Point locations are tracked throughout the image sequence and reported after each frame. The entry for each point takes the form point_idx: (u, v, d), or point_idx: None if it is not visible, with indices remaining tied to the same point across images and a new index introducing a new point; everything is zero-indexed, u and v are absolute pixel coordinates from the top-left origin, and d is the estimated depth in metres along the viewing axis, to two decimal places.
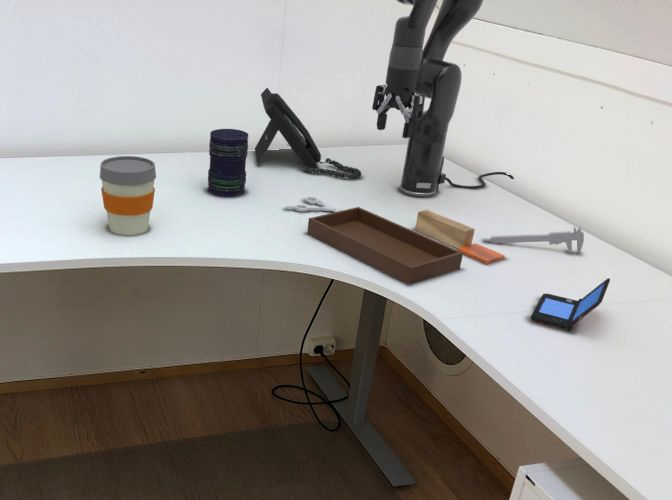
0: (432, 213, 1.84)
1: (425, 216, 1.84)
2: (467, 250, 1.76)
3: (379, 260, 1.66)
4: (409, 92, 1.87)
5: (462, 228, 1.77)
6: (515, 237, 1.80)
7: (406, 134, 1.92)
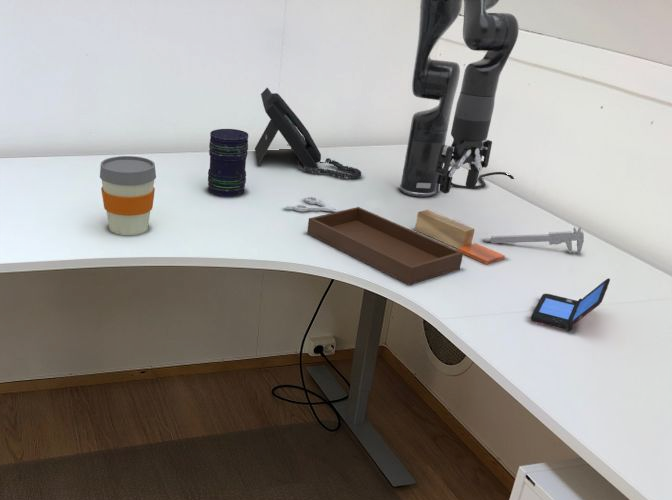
0: (432, 213, 1.84)
1: (425, 216, 1.84)
2: (467, 250, 1.76)
3: (379, 260, 1.66)
4: None
5: (462, 228, 1.77)
6: (515, 237, 1.80)
7: None
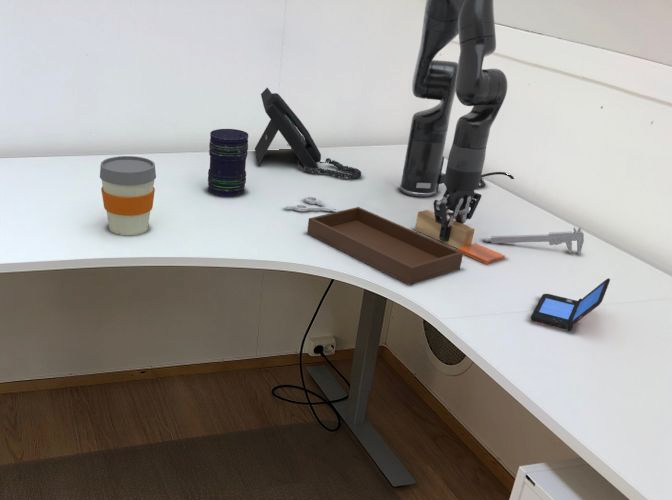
0: (432, 213, 1.84)
1: (425, 216, 1.84)
2: (467, 250, 1.76)
3: (379, 260, 1.66)
4: (445, 191, 1.74)
5: (462, 228, 1.77)
6: (515, 237, 1.80)
7: None
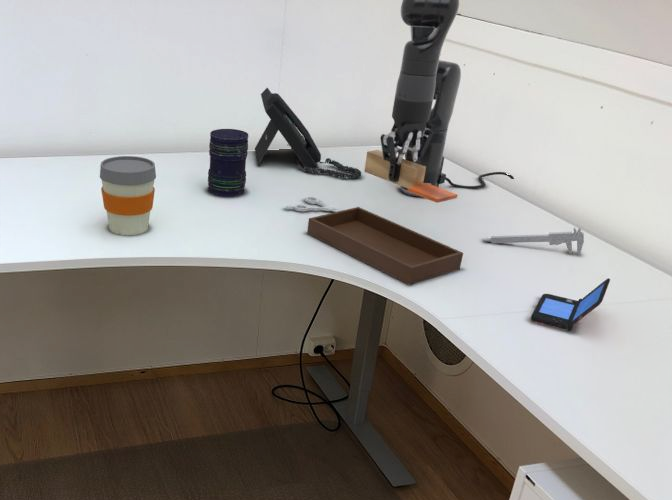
0: (382, 153, 1.71)
1: (374, 156, 1.70)
2: (417, 189, 1.62)
3: (379, 260, 1.66)
4: None
5: (412, 166, 1.63)
6: (515, 237, 1.80)
7: None
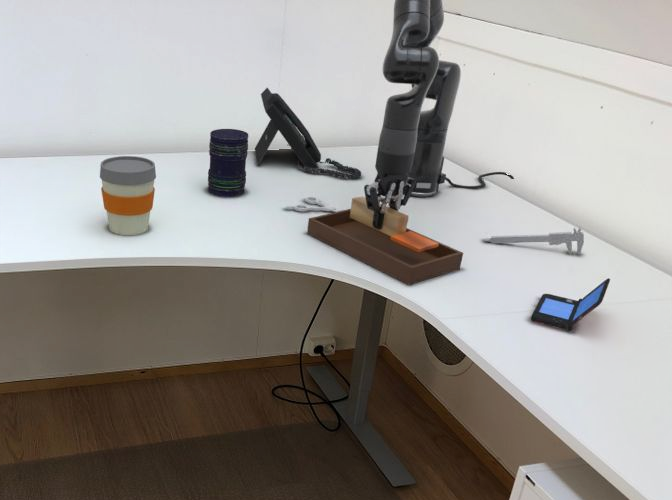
0: None
1: (359, 203, 1.75)
2: (400, 238, 1.67)
3: (379, 260, 1.66)
4: None
5: (395, 215, 1.68)
6: (515, 237, 1.79)
7: None
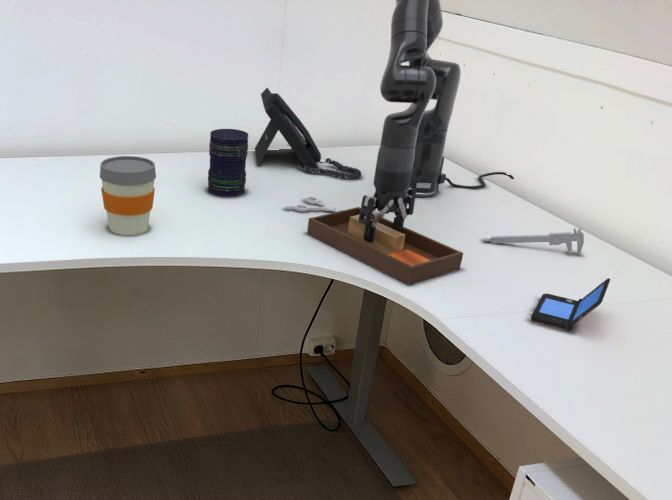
0: None
1: (356, 221, 1.77)
2: (397, 257, 1.69)
3: (379, 260, 1.66)
4: (375, 192, 1.68)
5: (392, 234, 1.70)
6: (515, 237, 1.79)
7: None
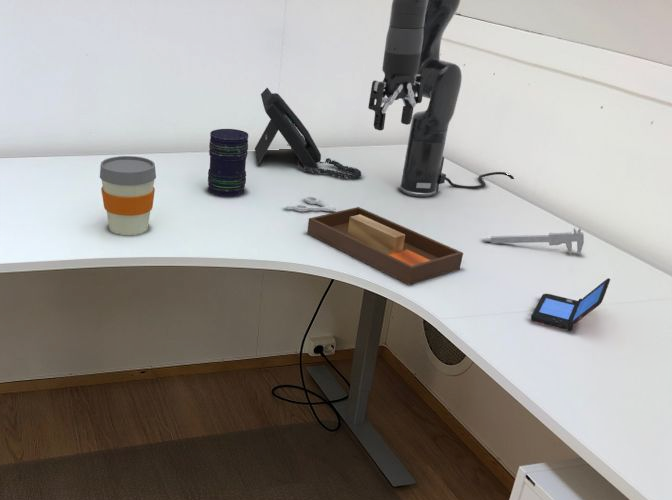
0: (364, 218, 1.78)
1: (356, 221, 1.77)
2: (397, 257, 1.69)
3: (379, 260, 1.66)
4: (384, 77, 1.68)
5: (392, 234, 1.70)
6: (515, 237, 1.79)
7: None
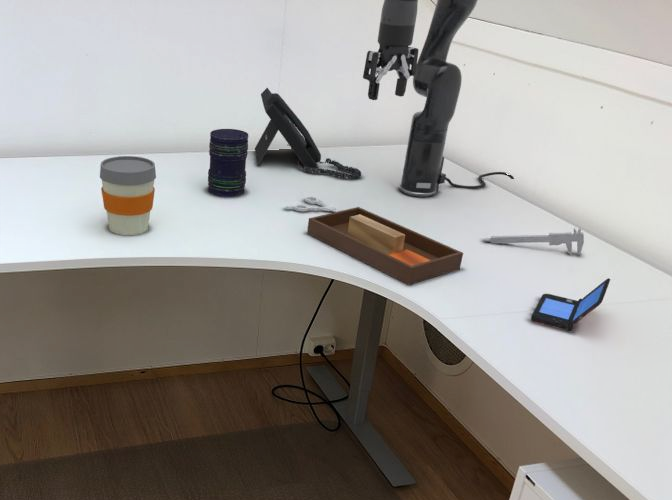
0: (364, 218, 1.78)
1: (356, 221, 1.77)
2: (397, 257, 1.69)
3: (379, 260, 1.66)
4: (379, 48, 1.74)
5: (392, 234, 1.70)
6: (515, 237, 1.79)
7: None
